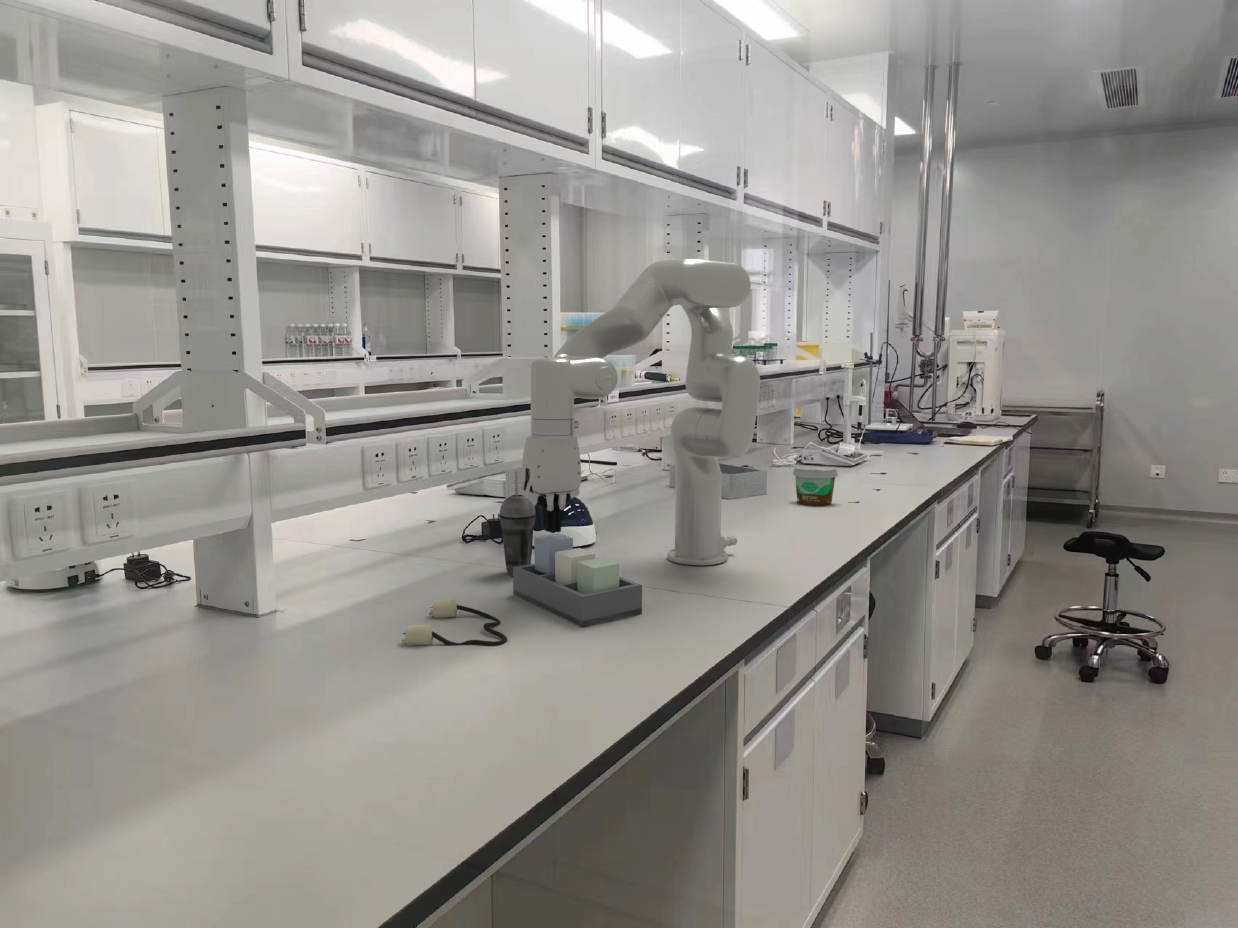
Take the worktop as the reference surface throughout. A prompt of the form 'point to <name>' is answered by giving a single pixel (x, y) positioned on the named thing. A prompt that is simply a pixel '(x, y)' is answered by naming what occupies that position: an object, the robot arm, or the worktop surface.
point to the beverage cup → (517, 529)
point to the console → (577, 597)
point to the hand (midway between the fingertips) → (552, 531)
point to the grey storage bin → (736, 481)
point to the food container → (814, 486)
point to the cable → (447, 610)
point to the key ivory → (569, 564)
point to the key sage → (597, 575)
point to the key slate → (549, 550)
